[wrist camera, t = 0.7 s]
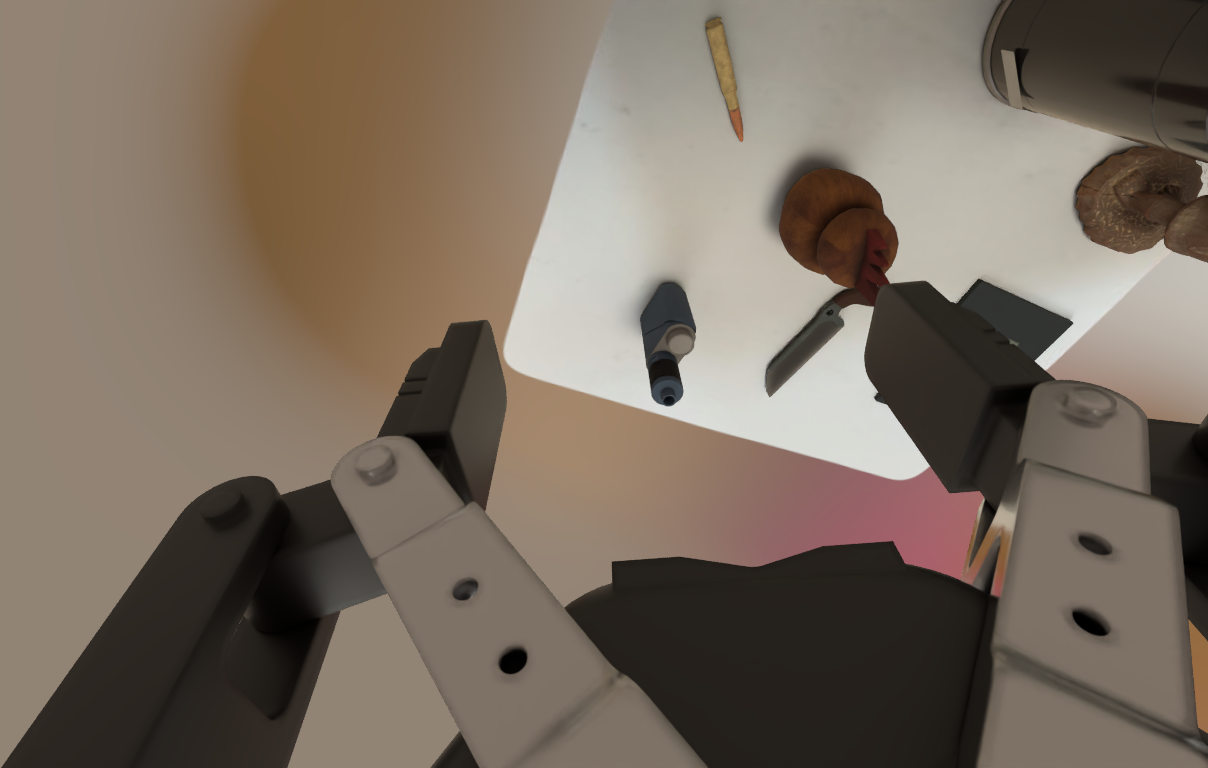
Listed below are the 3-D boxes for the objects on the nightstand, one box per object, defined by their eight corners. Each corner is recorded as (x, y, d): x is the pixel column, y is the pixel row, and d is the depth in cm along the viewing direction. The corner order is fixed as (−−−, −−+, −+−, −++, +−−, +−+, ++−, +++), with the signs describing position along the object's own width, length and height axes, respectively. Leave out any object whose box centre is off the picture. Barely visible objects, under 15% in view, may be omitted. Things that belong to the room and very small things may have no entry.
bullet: (720, 15, 36) (703, 23, 36) (722, 17, 35) (705, 25, 36) (748, 136, 41) (733, 142, 41) (750, 140, 40) (735, 146, 40)
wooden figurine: (820, 251, 46) (902, 347, 34) (757, 231, 45) (819, 323, 33) (866, 171, 42) (977, 247, 30) (799, 146, 41) (887, 216, 29)
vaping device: (634, 323, 50) (644, 406, 40) (664, 275, 47) (683, 352, 37) (658, 334, 50) (674, 418, 41) (690, 288, 48) (715, 366, 38)
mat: (978, 278, 48) (982, 281, 47) (1070, 320, 50) (1074, 323, 50) (873, 397, 55) (876, 401, 55) (958, 428, 58) (961, 432, 57)
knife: (859, 270, 47) (862, 274, 46) (890, 293, 48) (893, 297, 48) (747, 382, 54) (749, 387, 53) (777, 400, 55) (779, 404, 54)
